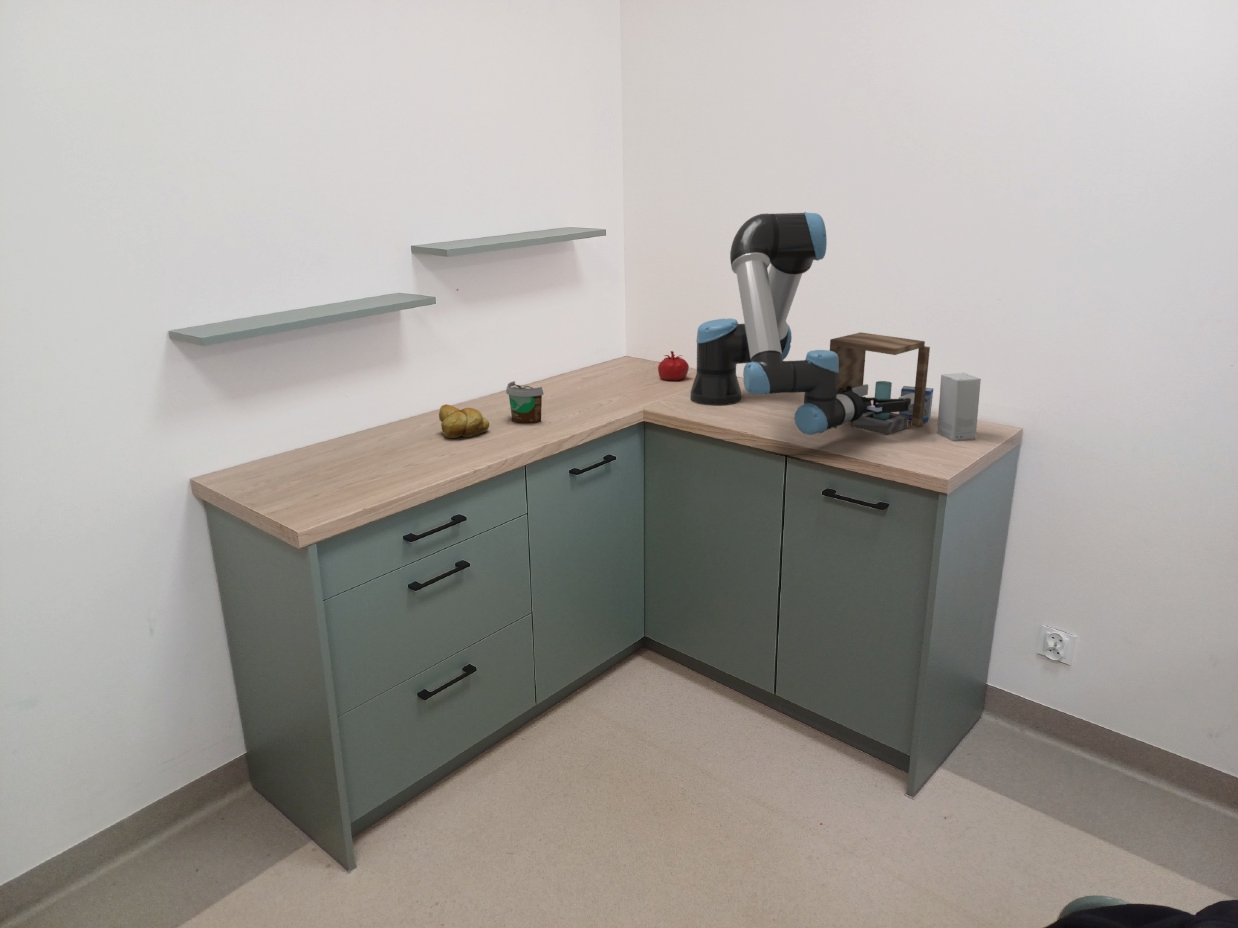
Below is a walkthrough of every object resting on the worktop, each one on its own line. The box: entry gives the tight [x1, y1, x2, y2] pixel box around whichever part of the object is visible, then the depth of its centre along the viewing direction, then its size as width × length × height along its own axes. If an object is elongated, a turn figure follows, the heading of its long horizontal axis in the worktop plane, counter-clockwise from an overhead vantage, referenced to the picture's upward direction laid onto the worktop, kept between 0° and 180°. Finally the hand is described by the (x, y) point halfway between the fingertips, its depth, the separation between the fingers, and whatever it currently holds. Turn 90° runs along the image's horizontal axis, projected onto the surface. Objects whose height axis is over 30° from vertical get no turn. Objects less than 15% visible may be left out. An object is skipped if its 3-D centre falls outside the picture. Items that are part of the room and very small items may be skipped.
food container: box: [505, 380, 544, 425], centre depth 239 cm, size 12×6×10 cm, turn 47°
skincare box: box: [936, 372, 982, 442], centre depth 218 cm, size 8×7×16 cm
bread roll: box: [438, 404, 490, 439], centre depth 228 cm, size 13×10×8 cm
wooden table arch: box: [829, 332, 931, 436], centre depth 229 cm, size 15×20×22 cm
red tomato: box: [657, 350, 690, 382], centre depth 285 cm, size 10×10×9 cm
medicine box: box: [898, 385, 934, 423], centre depth 235 cm, size 8×4×9 cm, turn 65°
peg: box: [873, 380, 893, 421], centre depth 227 cm, size 4×4×12 cm
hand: (889, 393), depth 229 cm, fingers open, 13 cm apart
